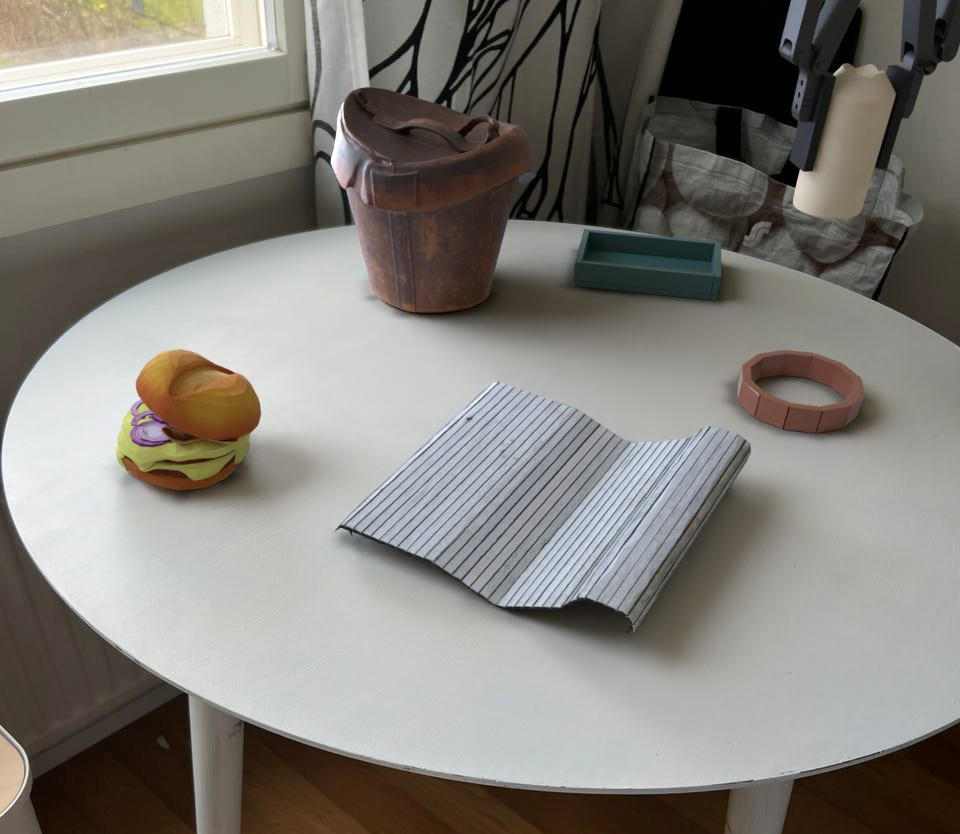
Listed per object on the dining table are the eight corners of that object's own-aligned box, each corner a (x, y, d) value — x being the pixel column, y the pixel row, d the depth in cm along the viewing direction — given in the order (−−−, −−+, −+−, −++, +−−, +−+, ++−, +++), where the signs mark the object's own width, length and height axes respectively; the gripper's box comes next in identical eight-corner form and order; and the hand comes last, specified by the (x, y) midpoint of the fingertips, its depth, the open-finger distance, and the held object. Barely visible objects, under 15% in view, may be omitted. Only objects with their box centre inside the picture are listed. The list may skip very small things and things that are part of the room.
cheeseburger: (122, 431, 80) (125, 319, 73) (252, 449, 83) (266, 343, 77) (109, 500, 72) (111, 383, 66) (252, 517, 76) (267, 406, 69)
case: (548, 319, 97) (563, 127, 84) (352, 335, 93) (338, 137, 81) (504, 249, 109) (512, 72, 97) (330, 261, 106) (315, 79, 93)
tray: (716, 265, 108) (721, 241, 106) (716, 300, 101) (721, 276, 99) (581, 251, 109) (583, 228, 107) (572, 285, 103) (574, 262, 101)
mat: (487, 405, 84) (489, 356, 81) (741, 488, 77) (755, 437, 73) (332, 544, 70) (327, 492, 67) (627, 664, 62) (637, 611, 59)
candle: (780, 207, 77) (813, 67, 70) (810, 190, 80) (844, 54, 73) (844, 225, 74) (884, 82, 67) (872, 206, 78) (914, 67, 71)
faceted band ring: (850, 378, 90) (857, 357, 88) (861, 438, 82) (869, 416, 81) (736, 366, 91) (741, 344, 89) (737, 424, 83) (743, 401, 82)
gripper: (1044, -235, 63) (921, 145, 79) (780, -242, 60) (709, 152, 76) (1117, -229, 57) (970, 176, 74) (831, -236, 55) (744, 185, 71)
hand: (838, 163), depth 75 cm, fingers closed on candle, 5 cm apart
